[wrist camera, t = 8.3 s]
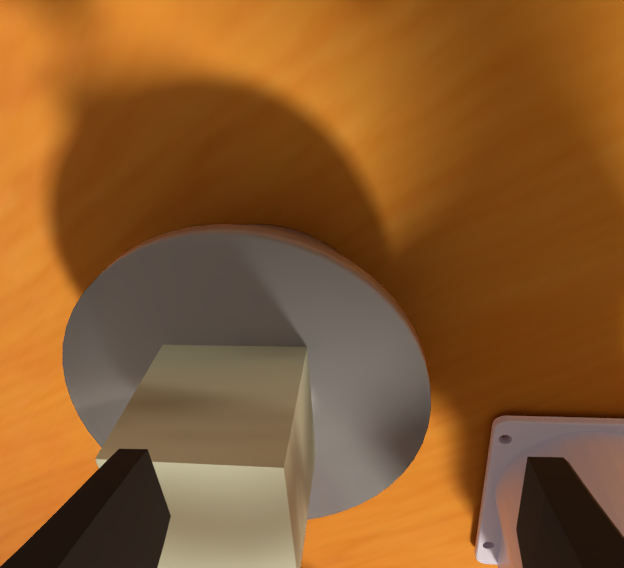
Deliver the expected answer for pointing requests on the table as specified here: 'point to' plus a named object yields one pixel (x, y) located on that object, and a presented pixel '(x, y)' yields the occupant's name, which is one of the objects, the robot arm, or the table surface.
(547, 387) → the table surface
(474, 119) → the table surface
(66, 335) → the cake stand
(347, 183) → the table surface
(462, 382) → the table surface
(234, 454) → the block
